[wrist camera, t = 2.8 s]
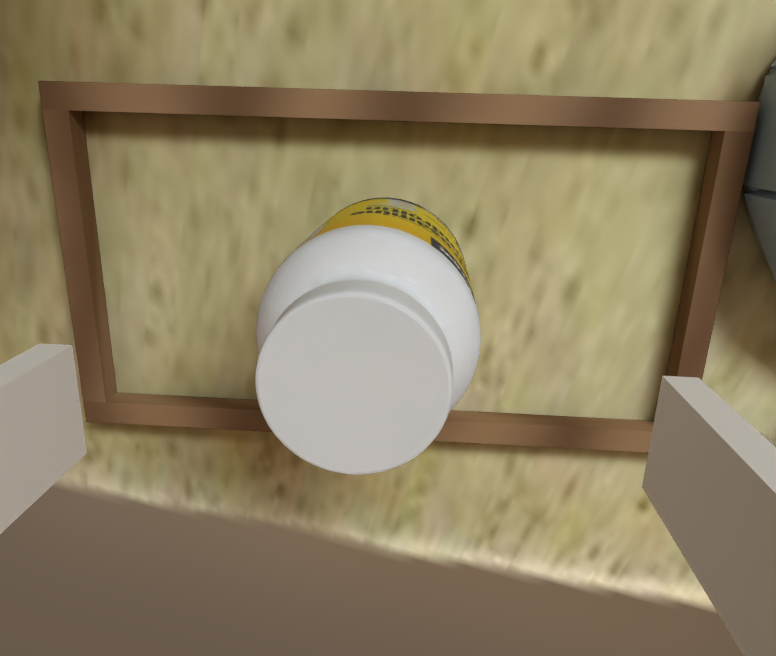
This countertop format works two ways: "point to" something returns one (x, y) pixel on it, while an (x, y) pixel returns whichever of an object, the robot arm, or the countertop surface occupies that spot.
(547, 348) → the countertop surface
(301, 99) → the open rectangular frame
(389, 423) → the pill bottle
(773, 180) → the bowl
